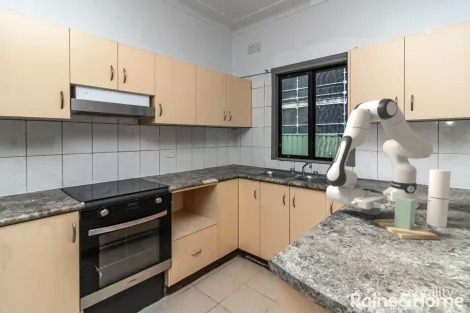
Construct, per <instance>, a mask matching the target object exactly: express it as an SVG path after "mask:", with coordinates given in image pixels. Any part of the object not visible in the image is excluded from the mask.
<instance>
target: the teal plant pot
mask: <svg viewBox="0 0 470 313" xmlns="http://www.w3.org/2000/svg"><path fill="white" fill-rule="evenodd" d="M360 190H369V191H370V192H373V193H378V194H382V195H383V191H384V190H381V189H378V188H377V189H376V188H370V187H369V188H366V187H365V188H360ZM360 212H361V213H363V214H365V215H370V216H379V215H380V214H381V208H371V209H362V208H360Z"/></svg>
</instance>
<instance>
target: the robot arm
mask: <svg viewBox="0 0 470 313" xmlns="http://www.w3.org/2000/svg"><path fill="white" fill-rule="evenodd" d="M377 121H378V122H380V124H381V126H382V129H383V130H384V132H385V134H386V136H387V137H388V140H386V141H384V143H383V144H382V145H383V146H382V152H383V153H384V154H385V155H386V156H387V157H388V159H389V160H390V163H391V166H392V180H391V181H389V183H390V185H389V187H387V188H385V189H384V190H382V191H383V195H382V194H378V193H373V192H370V191H369V190H361V188H360V189H359V188H356V187H357V184H358V175H357V173H356V172H355V171H354V170H351V169H347V168H346V165H347V163H348V162H347V161H348V158H349V155H350V154H351V153H350V152H351V151H352V150H353V149H355V148H359V147H361V146H363V145H364V144H365V143H366V141H367V139H368V137H369V132H370V129H371V128H370V127H371V122H377ZM433 151H434V146H433V144H432V142H431V141H430V140H428V139H426V138H424V137H421V136H420V135H419V134H417V133H416V132H415V131H414V130H413V129H412V128H411V127H410V125H409V124H408V122H407V119H406V118H405V115H404V114H403V112H402V109H401V108H400V107H399V106H398V105H397V102H396V101H395V100H393V99H392V98H380V99H372V100H369V101H365V102H360V103H358V104H356V105H355V107H354V108H353V110H352V111H351V113H350V114H349V116H348V119H347V123H346V125H345V129H344V133H343V135H342V137H341V138H340V140H339V142H338V143H337V147H336V150H335V153H334V156H333V158H332V161H331V163H330V165H329V167H328V168H327V169H326V172H325V181H326V183H327V184H328V186H327V188H326V196H327V198H328V199H329V201H332V202H334V203H336V204H337V203H338V204H341V205H347V206H350V207H354V208H358V209H361V208H362V209H371V208H380V209H386V208H387V207H392V208H393V207H394V208H395V202H396V198H399V197H405V198H411V199H416V207H415V210H416V209H418V208H419V207H420V206H421V205H420V203H419V196H418V191H417V189H418V188H417V187H418V183H417V175H418V174H417V173H418V172H417V169H416V168H417V167H415V166H414V165H412V164H411V163H410V161H409V159H411V160H413V159H416V160H418V159H427V158H429V157H430V156H431V155H432V154H433Z"/></svg>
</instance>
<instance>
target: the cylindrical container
mask: <svg viewBox="0 0 470 313" xmlns="http://www.w3.org/2000/svg"><path fill="white" fill-rule="evenodd" d="M451 173H452V170H450V169H441V168H429V176H428V177H429V178H428V189H427V190H428V193H427V195H428V196H427V207H426V220H425V223H426V224H427V225H429V226H432V227H438V228H447V225H448V213H449V212H448V211H449V201H450V188H451V186H450V185H451V175H452V174H451Z"/></svg>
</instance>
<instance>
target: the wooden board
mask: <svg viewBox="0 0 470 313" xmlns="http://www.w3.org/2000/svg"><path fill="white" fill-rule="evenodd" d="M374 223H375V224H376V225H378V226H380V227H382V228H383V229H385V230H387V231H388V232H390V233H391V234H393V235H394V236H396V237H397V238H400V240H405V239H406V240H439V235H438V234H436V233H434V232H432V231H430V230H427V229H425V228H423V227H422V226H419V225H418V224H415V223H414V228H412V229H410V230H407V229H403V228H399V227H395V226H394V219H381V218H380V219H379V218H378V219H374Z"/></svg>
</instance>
